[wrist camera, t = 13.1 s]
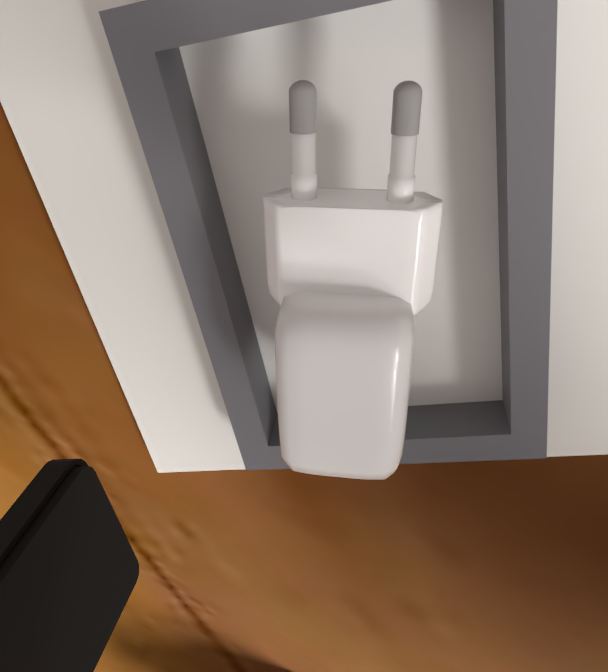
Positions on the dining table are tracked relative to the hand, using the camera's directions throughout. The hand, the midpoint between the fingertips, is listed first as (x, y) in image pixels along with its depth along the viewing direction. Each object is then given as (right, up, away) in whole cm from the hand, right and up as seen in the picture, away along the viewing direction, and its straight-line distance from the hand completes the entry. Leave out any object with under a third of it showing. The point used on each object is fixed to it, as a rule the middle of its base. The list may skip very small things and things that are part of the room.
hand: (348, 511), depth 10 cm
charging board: (+1, +7, +10) cm, 12 cm away
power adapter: (+1, +6, +10) cm, 12 cm away
